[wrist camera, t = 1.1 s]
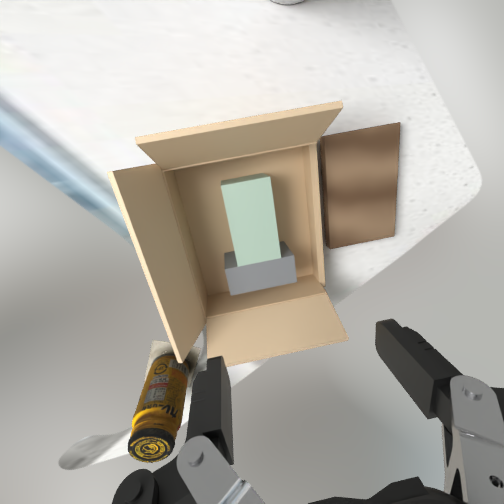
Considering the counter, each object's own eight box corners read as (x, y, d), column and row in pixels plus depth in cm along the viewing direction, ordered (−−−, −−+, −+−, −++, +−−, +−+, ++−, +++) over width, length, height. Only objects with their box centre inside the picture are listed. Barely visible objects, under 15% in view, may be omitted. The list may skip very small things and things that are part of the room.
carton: (144, 147, 28) (95, 144, 17) (304, 118, 29) (353, 98, 18) (194, 311, 37) (183, 377, 26) (317, 285, 37) (356, 340, 26)
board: (319, 136, 30) (324, 136, 28) (392, 123, 30) (400, 122, 29) (326, 245, 35) (330, 249, 34) (387, 232, 35) (394, 236, 34)
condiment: (144, 380, 40) (115, 466, 29) (153, 339, 38) (124, 416, 27) (189, 386, 42) (178, 470, 31) (201, 346, 39) (193, 423, 28)
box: (208, 182, 29) (205, 188, 25) (275, 170, 30) (284, 173, 25) (229, 276, 34) (230, 295, 29) (286, 264, 34) (297, 282, 30)
